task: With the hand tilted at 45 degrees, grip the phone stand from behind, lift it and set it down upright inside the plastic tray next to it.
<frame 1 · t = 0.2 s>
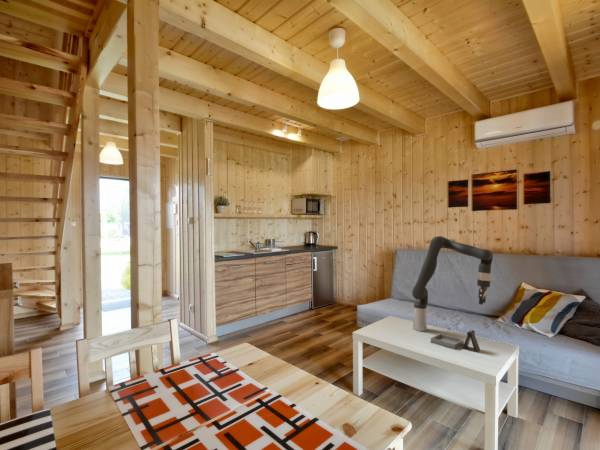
hand: (482, 303, 208), 28 cm above the table, tool pointing down, fingers open, 8 cm apart
tray: (447, 343, 213), on the table
phone stand: (471, 349, 202), on the table
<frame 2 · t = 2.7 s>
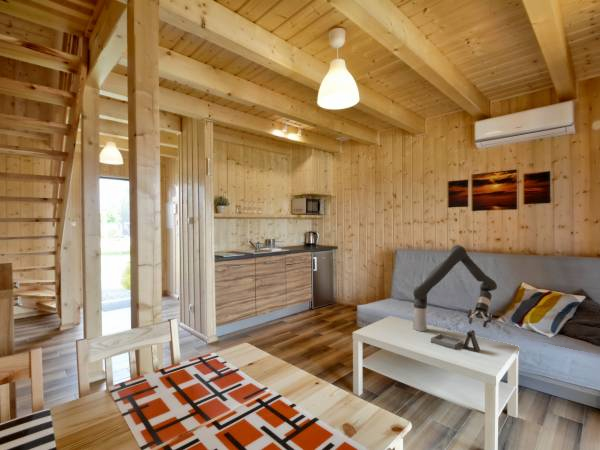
hand: (476, 325, 209), 13 cm above the table, tool tilted 45°, fingers open, 8 cm apart
nothing on the table moved.
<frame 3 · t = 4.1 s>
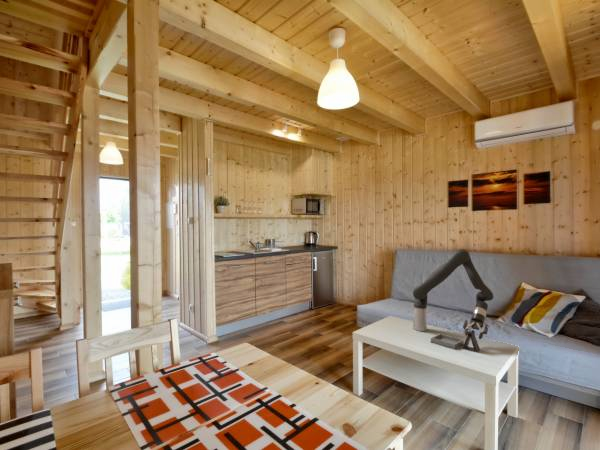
hand: (472, 336, 204), 8 cm above the table, tool tilted 45°, fingers open, 8 cm apart
nothing on the table moved.
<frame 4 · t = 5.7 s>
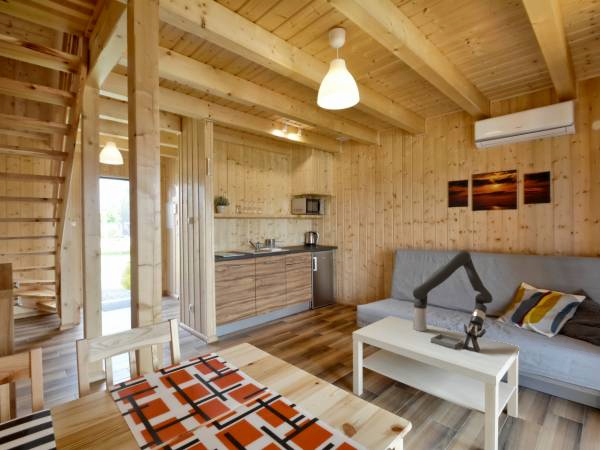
hand: (470, 340, 202), 6 cm above the table, tool tilted 45°, fingers closed on phone stand, 3 cm apart
phone stand: (471, 349, 202), on the table, touching gripper
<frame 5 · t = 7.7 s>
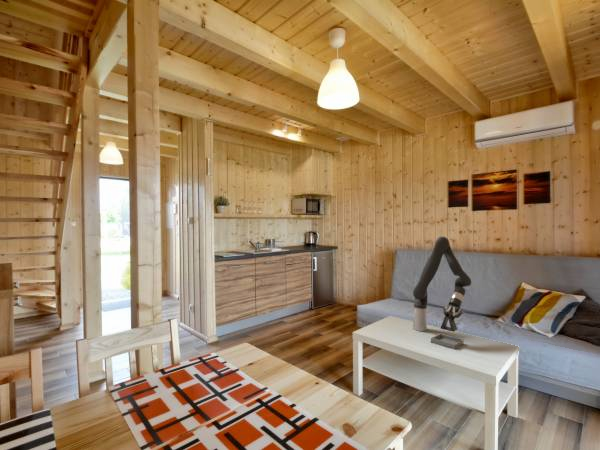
hand: (448, 320, 212), 15 cm above the table, tool tilted 45°, fingers closed on phone stand, 3 cm apart
phone stand: (448, 329, 212), point 10 cm above the table, touching gripper
when the fingers open (7 cm above the table, at t = 10.2 s): phone stand drops 1 cm, resting on tray.
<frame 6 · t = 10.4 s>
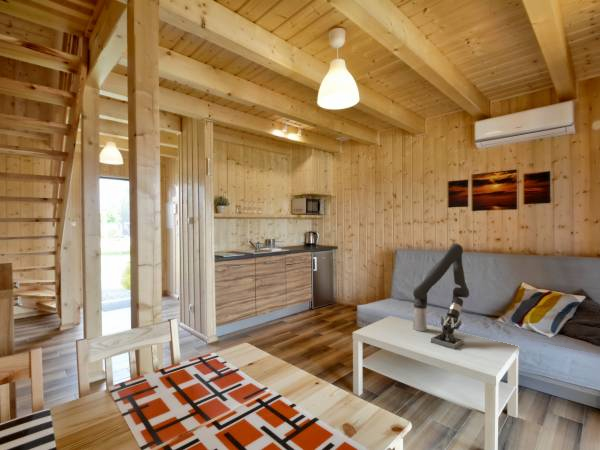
hand: (447, 332, 213), 8 cm above the table, tool tilted 45°, fingers open, 4 cm apart
phone stand: (447, 342, 213), resting on tray
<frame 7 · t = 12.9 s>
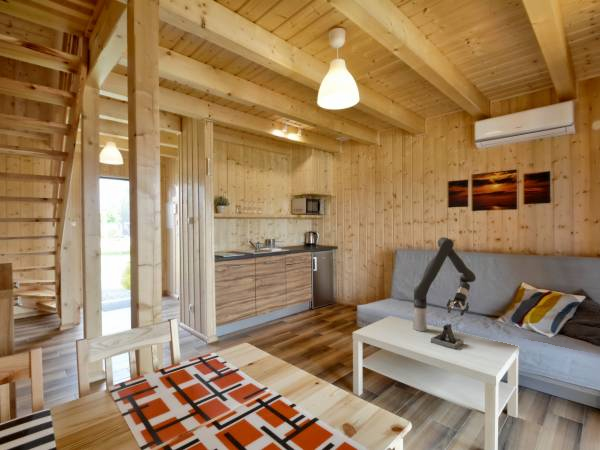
hand: (454, 313, 221), 18 cm above the table, tool tilted 45°, fingers open, 8 cm apart
nothing on the table moved.
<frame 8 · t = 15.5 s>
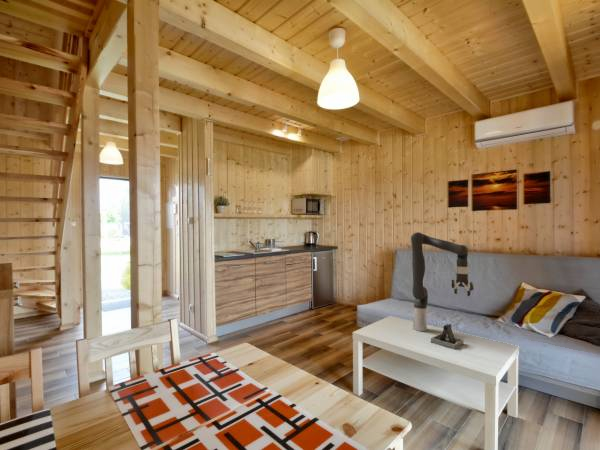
hand: (462, 295, 225), 30 cm above the table, tool pointing down, fingers open, 8 cm apart
nothing on the table moved.
at the end: phone stand inside the target area on the tray (0.5 cm from its centre), point 0.4 cm above the tray's base; phone stand tilted 0°; the gripper is holding nothing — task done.
